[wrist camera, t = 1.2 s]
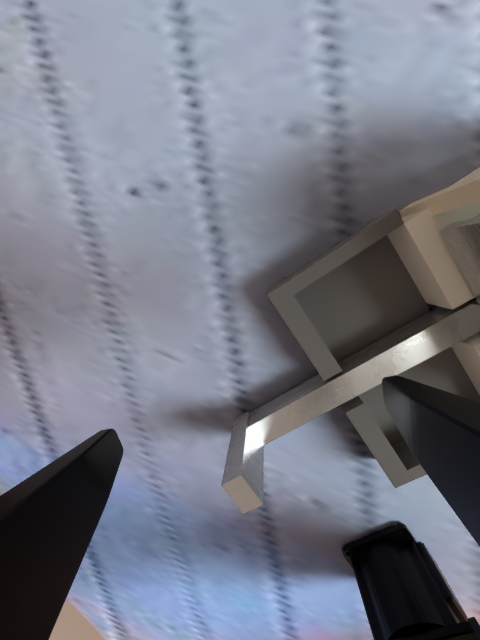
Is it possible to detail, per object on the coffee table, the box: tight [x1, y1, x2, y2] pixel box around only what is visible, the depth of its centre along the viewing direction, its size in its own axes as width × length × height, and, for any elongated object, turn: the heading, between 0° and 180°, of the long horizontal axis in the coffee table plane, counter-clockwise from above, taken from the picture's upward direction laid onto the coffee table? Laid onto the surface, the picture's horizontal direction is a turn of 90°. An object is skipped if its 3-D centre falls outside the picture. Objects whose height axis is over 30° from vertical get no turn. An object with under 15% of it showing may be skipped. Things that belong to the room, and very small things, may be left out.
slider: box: [221, 217, 480, 514], centre depth 16 cm, size 29×13×7 cm, turn 124°
